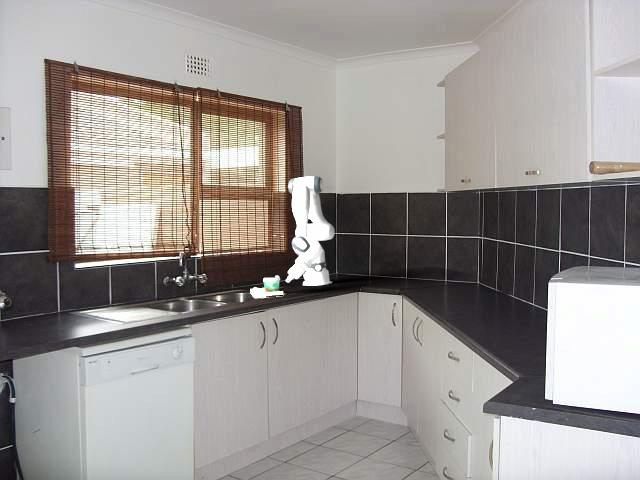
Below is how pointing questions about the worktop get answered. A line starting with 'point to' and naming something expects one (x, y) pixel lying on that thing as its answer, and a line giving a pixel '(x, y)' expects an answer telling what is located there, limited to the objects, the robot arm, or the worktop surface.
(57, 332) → the worktop surface
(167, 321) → the worktop surface
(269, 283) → the food container
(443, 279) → the worktop surface
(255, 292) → the white cutting board
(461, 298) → the worktop surface
